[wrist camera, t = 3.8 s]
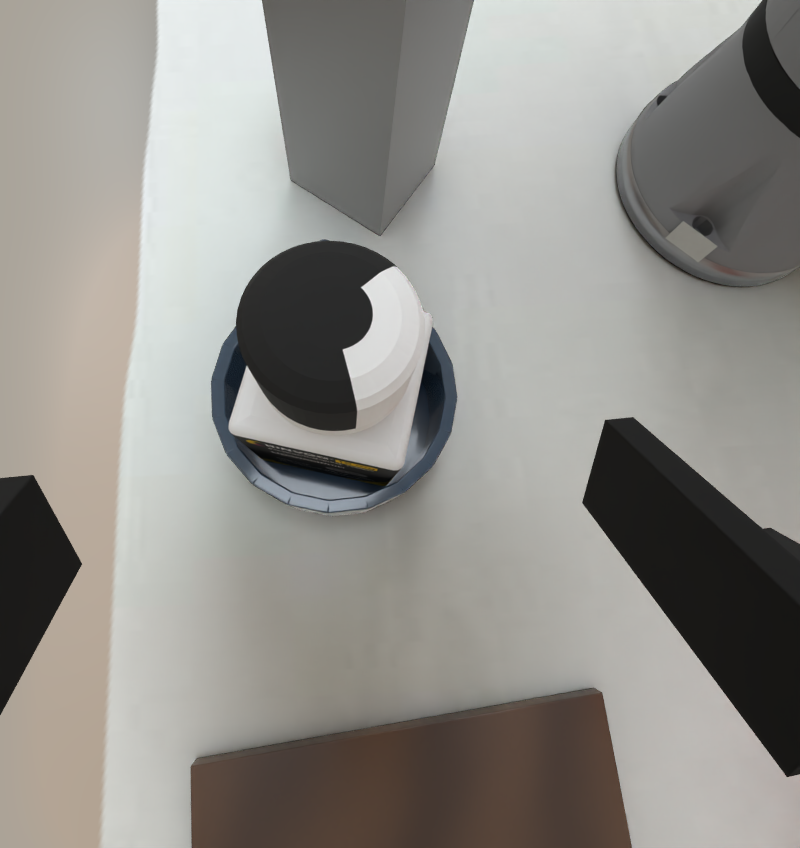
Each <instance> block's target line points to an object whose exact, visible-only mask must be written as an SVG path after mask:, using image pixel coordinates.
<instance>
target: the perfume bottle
mask: <svg viewBox="0 0 800 848" xmlns="http://www.w3.org/2000/svg"><path fill="white" fill-rule="evenodd" d="M473 2H474V0H262V3H263V10H264V16H265V22H266V28H267V35H268V41H269V47H270V54H271V60H272V66H273V72H274V79H275V85H276V91H277V97H278V104H279V110H280V116H281V123H282V129H283V135H284V141H285V148H286V154H287V160H288V167H289V173H290V179H291V180H292V181H293V182H295V183H296V184H298V185H300V186H301V187H303V188H304V189H306V190H308V191H309V192H311V193H312V194H314V195H315V196H317V197H319V198H320V199H322V200H323V201H325V202H327V203H328V204H330V205H331V206H333V207H335V208H336V209H338V210H339V211H341V212H343V213H344V214H346V215H347V216H349V217H351V218H352V219H354V220H355V221H357V222H359V223H360V224H362V225H363V226H365V227H366V228H368V229H370V230H371V231H373V232H374V233H376V234H378V235H379V236H380V235H381V234H382V233H383V231H384V230H385V229H386V227H387V226H388V225H389V224H390V222H391V221H392V220H393V218H394V217H395V216H396V214H397V213H398V212H399V211H400V209H401V208H402V207H403V205H404V204H405V203H406V201H407V200H408V199H409V197H410V196H411V195H412V194H413V192H414V191H415V190H416V188H417V187H418V186H419V184H420V183H421V182H422V181H423V179H424V178H425V177H426V175H427V174H428V173H429V171H430V170H431V169H432V167H433V166H434V165H435V161H436V157H437V152H438V148H439V144H440V140H441V136H442V131H443V127H444V123H445V119H446V115H447V110H448V106H449V102H450V98H451V94H452V90H453V85H454V81H455V77H456V73H457V69H458V64H459V60H460V56H461V52H462V48H463V44H464V39H465V35H466V31H467V27H468V23H469V18H470V14H471V10H472V6H473Z"/></svg>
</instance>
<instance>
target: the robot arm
mask: <svg viewBox="0 0 800 848" xmlns="http://www.w3.org/2000/svg"><path fill="white" fill-rule="evenodd" d="M616 173H617V183H618V188H619V192H620V196H621V199H622V202H623V204H624V207H625V209H626V211H627V213H628V215H629V217H630V219H631V220H632V222H633V223H634V225H635V227H636V228H637V230H638V231H639V232H640V233H641V235H642V236H643V237H644V238H645V239H646V241H647V242H648V243H649V244H650V245H651V246H652V247H653V248H654V249H655V250H656V251H657V252H658V253H660V254H661V255H662V256H663V257H665V258H666V259H667V260H668V261H670V262H671V263H673V264H674V265H676V266H677V267H679V268H681V269H682V270H684V271H686V272H688V273H690V274H692V275H694V276H696V277H699V278H702V279H704V280H707V281H710V282H714V283H717V284H723V285H728V286H757V285H762V284H767V283H770V282H773V281H776V280H778V279H780V278H782V277H784V276H786V275H787V274H789V273H791V272H792V271H794V270H796V269H798V268H799V267H800V0H762V2H761V3H760V4H759V6H758V7H757V8H756V9H755V10H754V12H753V13H752V14H751V15H750V17H749V18H748V19H747V21H746V22H745V23H744V24H743V25H742V26H741V27H740V28H739V29H738V30H737V31H736V32H735V33H733V34H732V35H731V36H730V37H728V38H727V39H726V40H725V41H723V42H722V43H721V44H720V45H719V46H717V47H716V48H715V49H714V50H712V51H711V52H710V53H709V54H707V55H706V56H705V57H704V58H703V59H701V60H700V61H699V62H698V63H697V64H695V65H694V66H693V67H692V68H691V69H690V70H688V71H687V72H686V73H685V74H684V75H683V76H682V77H681V78H680V79H679V80H678V81H676V82H674V83H672V84H671V85H669V86H668V87H667V88H665V89H664V90H663V91H662V92H661V93H659V94H658V95H657V96H656V97H655V98H654V99H653V100H652V101H651V102H650V103H649V104H648V105H647V106H646V107H645V108H644V109H643V111H642V112H641V113H640V115H639V116H638V118H637V119H636V120H635V122H634V123H633V125H632V126H631V128H630V129H629V130H628V132H627V133H626V135H625V137H624V139H623V141H622V143H621V146H620V149H619V153H618V158H617V172H616ZM582 503H583V504H584V506H585V507H586V508H587V510H588V511H589V512H590V514H591V515H592V516H593V518H594V519H595V520H596V522H597V523H598V525H599V526H600V527H601V529H602V530H603V531H604V533H605V534H606V535H607V537H608V538H609V539H610V541H611V542H612V543H613V545H614V546H615V547H616V549H617V550H618V551H619V553H620V554H621V555H622V557H623V558H624V559H625V561H626V562H627V563H628V565H629V566H630V567H631V569H632V570H633V571H634V573H635V574H636V575H637V577H638V578H639V579H640V581H641V582H642V583H643V585H644V586H645V587H646V589H647V590H648V591H649V593H650V594H651V595H652V597H653V598H654V599H655V601H656V602H657V603H658V605H659V606H660V607H661V609H662V610H663V611H664V613H665V614H666V616H667V617H668V618H669V620H670V621H671V622H672V624H673V625H674V626H675V628H676V629H677V630H678V632H679V633H680V634H681V636H682V637H683V638H684V640H685V641H686V642H687V644H688V645H689V646H690V648H691V649H692V650H693V652H694V653H695V654H696V656H697V657H698V658H699V660H700V661H701V662H702V664H703V665H704V666H705V668H706V669H707V670H708V672H709V673H710V674H711V676H712V677H713V678H714V680H715V681H716V682H717V684H718V685H719V686H720V688H721V689H722V690H723V692H724V693H725V694H726V696H727V697H728V698H729V700H730V701H731V703H732V704H733V705H734V707H735V708H736V709H737V711H738V712H739V713H740V715H741V716H742V717H743V719H744V720H745V721H746V723H747V724H748V725H749V727H750V728H751V729H752V731H753V732H754V733H755V735H756V736H757V737H758V739H759V740H760V741H761V743H762V744H763V745H764V747H765V748H766V749H767V751H768V752H769V753H770V755H771V756H772V757H773V759H774V760H775V761H776V763H777V764H778V765H779V767H780V768H781V769H782V771H783V772H784V773H785V775H786V776H787V777H790V776H794V775H798V774H800V544H798V543H797V542H795V541H793V540H791V539H789V538H788V537H786V536H784V535H782V534H781V533H779V532H777V531H775V530H773V529H772V528H767V529H762V528H761V527H760V526H759V525H757V524H756V523H755V522H754V521H753V520H752V519H750V518H749V517H748V516H747V515H746V514H745V513H743V512H742V511H741V510H740V509H739V508H738V507H736V506H735V505H734V504H733V503H732V502H731V501H730V500H728V499H727V498H726V497H725V496H724V495H723V494H721V493H720V492H719V491H718V490H717V489H716V488H714V487H713V486H712V485H711V484H710V483H709V482H707V481H706V480H705V479H704V478H703V477H702V476H701V475H699V474H698V473H697V472H696V471H695V470H694V469H692V468H691V467H690V466H689V465H688V464H687V463H685V462H684V461H683V460H682V459H681V458H680V457H678V456H677V455H676V454H675V453H674V452H673V451H672V450H670V449H669V448H668V447H667V446H666V445H665V444H663V443H662V442H661V441H660V440H659V439H658V438H656V437H655V436H654V435H653V434H652V433H651V432H649V431H648V430H647V429H646V428H645V427H644V426H643V425H641V424H640V423H639V422H638V421H637V420H636V419H634V418H633V417H631V418H621V419H611V420H605V422H604V426H603V430H602V433H601V437H600V440H599V444H598V448H597V451H596V455H595V458H594V462H593V466H592V469H591V473H590V477H589V480H588V484H587V487H586V491H585V495H584V498H583V502H582ZM81 565H82V563H81V561H80V559H79V557H78V556H77V554H76V552H75V550H74V548H73V547H72V545H71V543H70V541H69V539H68V537H67V536H66V534H65V532H64V530H63V528H62V526H61V525H60V523H59V521H58V519H57V517H56V516H55V514H54V512H53V510H52V508H51V507H50V505H49V503H48V501H47V499H46V497H45V496H44V494H43V492H42V490H41V488H40V486H39V485H38V483H37V481H36V479H35V477H34V476H33V475H29V476H18V477H9V478H0V715H1V713H2V711H3V709H4V707H5V706H6V704H7V702H8V700H9V698H10V696H11V694H12V693H13V691H14V689H15V687H16V685H17V683H18V682H19V680H20V678H21V676H22V674H23V672H24V670H25V668H26V667H27V665H28V663H29V661H30V659H31V657H32V656H33V654H34V652H35V650H36V648H37V646H38V644H39V643H40V641H41V639H42V637H43V635H44V633H45V631H46V630H47V628H48V626H49V624H50V622H51V620H52V618H53V617H54V615H55V613H56V611H57V609H58V607H59V606H60V604H61V602H62V600H63V598H64V596H65V595H66V593H67V591H68V589H69V587H70V585H71V583H72V582H73V580H74V578H75V576H76V574H77V572H78V570H79V569H80V567H81Z"/></svg>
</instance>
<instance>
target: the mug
mask: <svg viewBox="0 0 800 848" xmlns="http://www.w3.org/2000/svg"><path fill="white" fill-rule="evenodd" d="M320 241H329V240H326V239H323V240H320ZM246 366H247V365H246V363H245V361H244V359H243V357H242V354H241V351H240V348H239V344H238V339H237V332H236V327H235V328H234V330H233V331H232V332H231V334H230V335H229V336H228V338H227V339H226V340H225V342H224V343H223V345H222V348H221V351H220V354H219V357H218V360H217V363H216V366H215V369H214V372H213V376H212V380H211V396H212V417H213V422H214V424H215V427H216V429H217V432H218V435H219V437H220V440H221V442H222V445H223V448H224V450H225V453H226V454H227V456H228V457H229V458H230V459H231V461H232V462H233V463H234V464H235V465H236V466H237V468H238V469H239V470H240V471H241V472H242V473H243V474H244V476H245V477H246V478H247V479H248V480H249V481H250V483H251V484H253V485H254V486H255V487H257V488H259V489H261V490H262V491H264V492H266V493H267V494H269V495H271V496H273V497H274V498H276V499H278V500H279V501H281V502H283V503H285V504H286V505H289V506H291V507H293V508H295V509H298V510H302V511H307V512H311V513H316V514H321V515H326V516H341V515H350V514H359V513H364V512H368V511H370V510H372V509H374V508H377V507H379V506H381V505H383V504H385V503H388V502H390V501H392V500H394V499H396V498H397V497H399V496H400V495H402V494H403V493H404V492H406V491H407V490H408V489H409V488H410V487H411V486H412V485H414V484H415V483H416V482H417V481H418V480H419V479H420V478H421V477H422V476H423V475H424V474H425V473H426V472H428V471H429V470H430V469H431V468H432V466H433V465H434V464H435V462H436V460H437V458H438V457H439V455H440V453H441V451H442V449H443V447H444V446H445V444H446V442H447V440H448V438H449V436H450V433H451V431H452V425H453V420H454V414H455V408H456V403H457V392H456V385H455V378H454V372H453V365H452V362H451V360H450V358H449V356H448V354H447V352H446V350H445V348H444V346H443V344H442V342H441V340H440V338H439V336H438V334H437V332H436V330H435V329H434V328H433V327H432V330H431V335H430V340H429V345H428V349H427V354H426V359H425V364H424V369H423V374H422V379H421V383H420V388H419V393H418V398H417V403H416V408H415V413H414V418H413V422H412V427H411V432H410V437H409V442H408V447H407V452H406V457H405V461H404V465H403V467H402V468H401V469H400V471H399V472H398V473H397V474H396V475H395V476H394V478H393V479H392V480H391V481H390V482H389V483H388V484H387V485H385V486H380V485H375V484H371V483H366V482H362V481H357V480H353V479H348V478H344V477H339V476H334V475H330V474H325V473H321V472H316V471H312V470H307V469H303V468H298V467H293V466H289V465H284V464H280V463H275V462H271V461H266V460H263V459H261V458H260V457H259V456H257V455H256V454H255V453H254V452H253V451H251V450H250V449H249V448H248V447H247V446H246V445H244V444H243V443H242V442H241V441H240V440H238V439H237V438H236V437H235V436H234V435H233V434H231V432H230V431H229V421H230V418H231V415H232V411H233V408H234V405H235V402H236V398H237V395H238V392H239V389H240V386H241V382H242V379H243V376H244V373H245V370H246Z"/></svg>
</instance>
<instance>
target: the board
mask: <svg viewBox="0 0 800 848" xmlns="http://www.w3.org/2000/svg"><path fill="white" fill-rule="evenodd" d="M191 826H192V848H632V846H631V841H630V835H629V830H628V825H627V820H626V814H625V809H624V804H623V799H622V794H621V788H620V783H619V778H618V773H617V768H616V762H615V757H614V752H613V747H612V742H611V736H610V731H609V726H608V721H607V715H606V710H605V705H604V700H603V695H602V692H600V691H598V690H597V689H595V688H591V689H585V690H580V691H574V692H568V693H563V694H557V695H551V696H546V697H540V698H535V699H529V700H523V701H518V702H512V703H506V704H501V705H495V706H490V707H484V708H478V709H473V710H467V711H461V712H456V713H450V714H444V715H439V716H433V717H428V718H422V719H416V720H411V721H405V722H399V723H394V724H388V725H382V726H377V727H371V728H366V729H360V730H354V731H349V732H343V733H337V734H332V735H326V736H320V737H315V738H309V739H304V740H298V741H292V742H287V743H281V744H275V745H270V746H264V747H258V748H253V749H247V750H242V751H236V752H230V753H225V754H219V755H213V756H208V757H202V758H197V759H196V760H195V761H194V763H193V764H192V766H191Z"/></svg>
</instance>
